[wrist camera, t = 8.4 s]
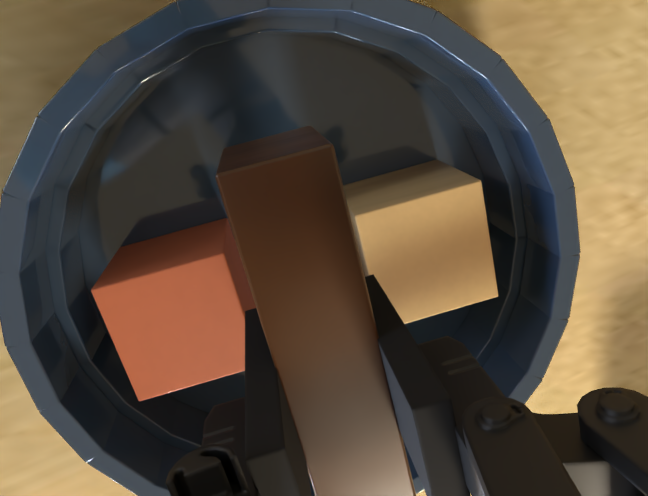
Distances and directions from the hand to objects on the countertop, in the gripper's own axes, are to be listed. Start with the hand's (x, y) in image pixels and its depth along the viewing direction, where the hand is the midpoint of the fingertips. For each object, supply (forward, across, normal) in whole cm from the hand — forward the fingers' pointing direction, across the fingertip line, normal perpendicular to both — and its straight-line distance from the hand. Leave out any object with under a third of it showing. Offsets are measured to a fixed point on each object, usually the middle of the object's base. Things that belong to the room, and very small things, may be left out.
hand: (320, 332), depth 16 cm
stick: (0, 0, 0) cm, 0 cm away
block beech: (+7, +4, 0) cm, 8 cm away
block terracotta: (+7, -5, 0) cm, 9 cm away
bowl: (+8, 0, 0) cm, 8 cm away
